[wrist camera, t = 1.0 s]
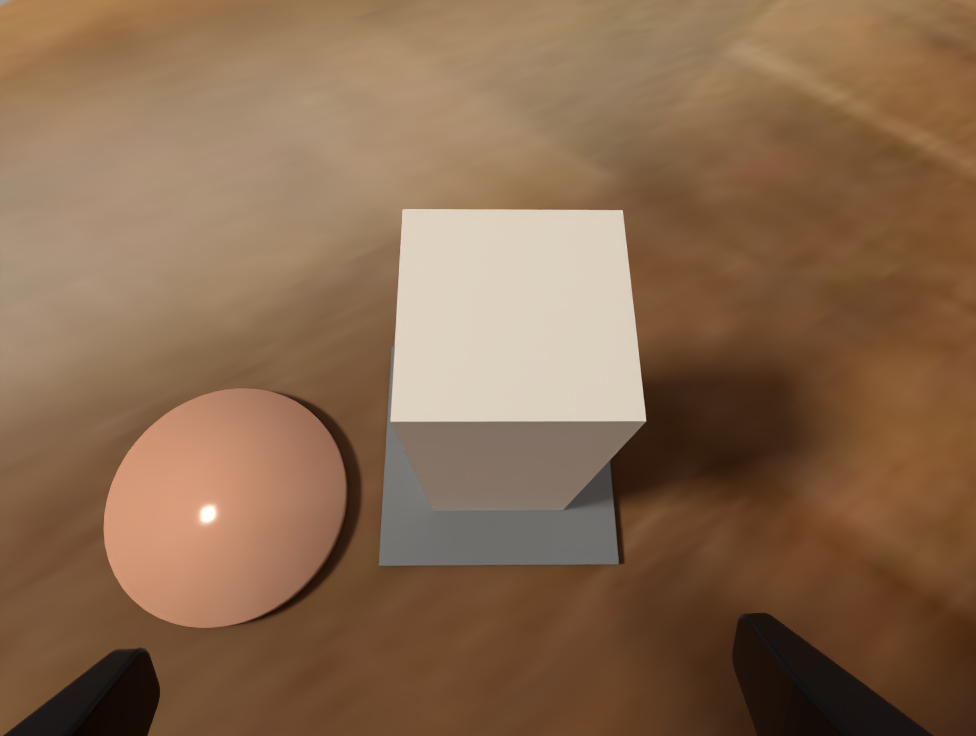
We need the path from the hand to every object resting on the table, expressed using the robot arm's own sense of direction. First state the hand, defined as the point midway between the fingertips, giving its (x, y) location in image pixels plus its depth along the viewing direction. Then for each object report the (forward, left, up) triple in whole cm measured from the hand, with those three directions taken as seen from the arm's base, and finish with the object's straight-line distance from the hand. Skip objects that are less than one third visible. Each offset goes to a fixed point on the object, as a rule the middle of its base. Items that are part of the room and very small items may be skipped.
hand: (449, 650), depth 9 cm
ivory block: (+2, -6, -13) cm, 15 cm away
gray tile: (+2, -6, -13) cm, 15 cm away
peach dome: (+10, +1, -13) cm, 17 cm away
